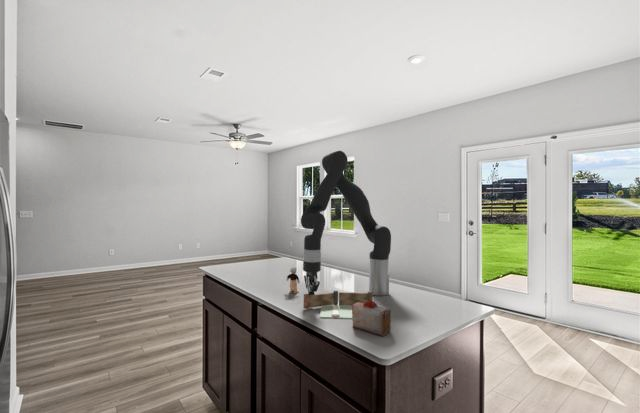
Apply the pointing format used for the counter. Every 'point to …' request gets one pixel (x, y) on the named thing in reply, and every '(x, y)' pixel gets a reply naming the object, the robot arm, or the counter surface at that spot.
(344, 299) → the fixed fence section
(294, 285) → the grandmother figurine
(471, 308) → the counter surface
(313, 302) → the hinged fence panel
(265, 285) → the counter surface
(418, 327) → the counter surface
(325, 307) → the card
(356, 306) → the food item
